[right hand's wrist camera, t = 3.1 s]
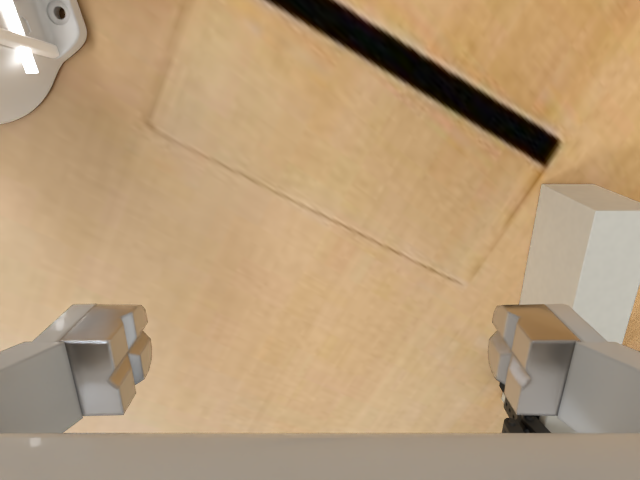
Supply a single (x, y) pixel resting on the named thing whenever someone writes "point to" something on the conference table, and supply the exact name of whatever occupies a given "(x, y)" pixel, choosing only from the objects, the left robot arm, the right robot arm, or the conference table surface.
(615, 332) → the bar
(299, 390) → the conference table surface
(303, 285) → the conference table surface
